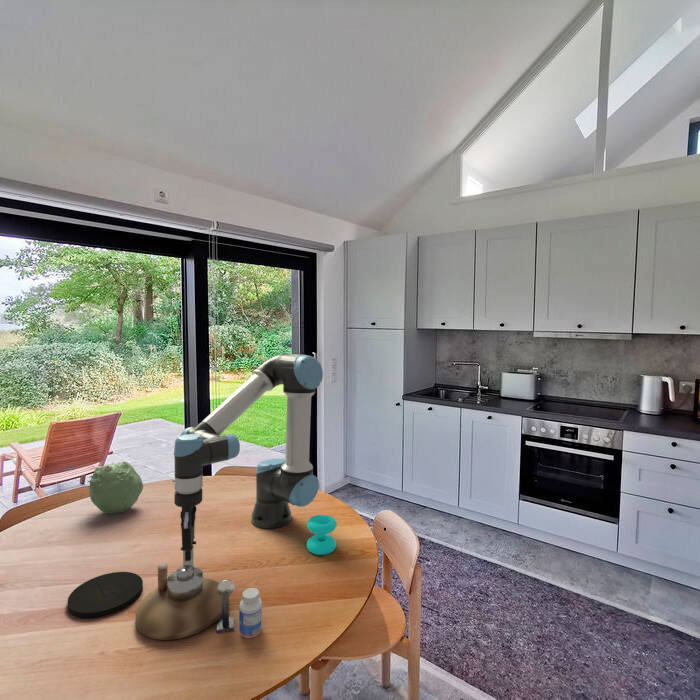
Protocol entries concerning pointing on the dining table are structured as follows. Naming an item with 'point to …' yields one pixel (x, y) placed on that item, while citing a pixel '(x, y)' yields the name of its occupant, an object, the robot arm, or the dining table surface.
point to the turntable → (177, 610)
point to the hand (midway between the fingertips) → (188, 568)
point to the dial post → (225, 606)
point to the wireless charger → (105, 595)
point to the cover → (185, 583)
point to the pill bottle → (250, 613)
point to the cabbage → (115, 487)
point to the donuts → (321, 534)
